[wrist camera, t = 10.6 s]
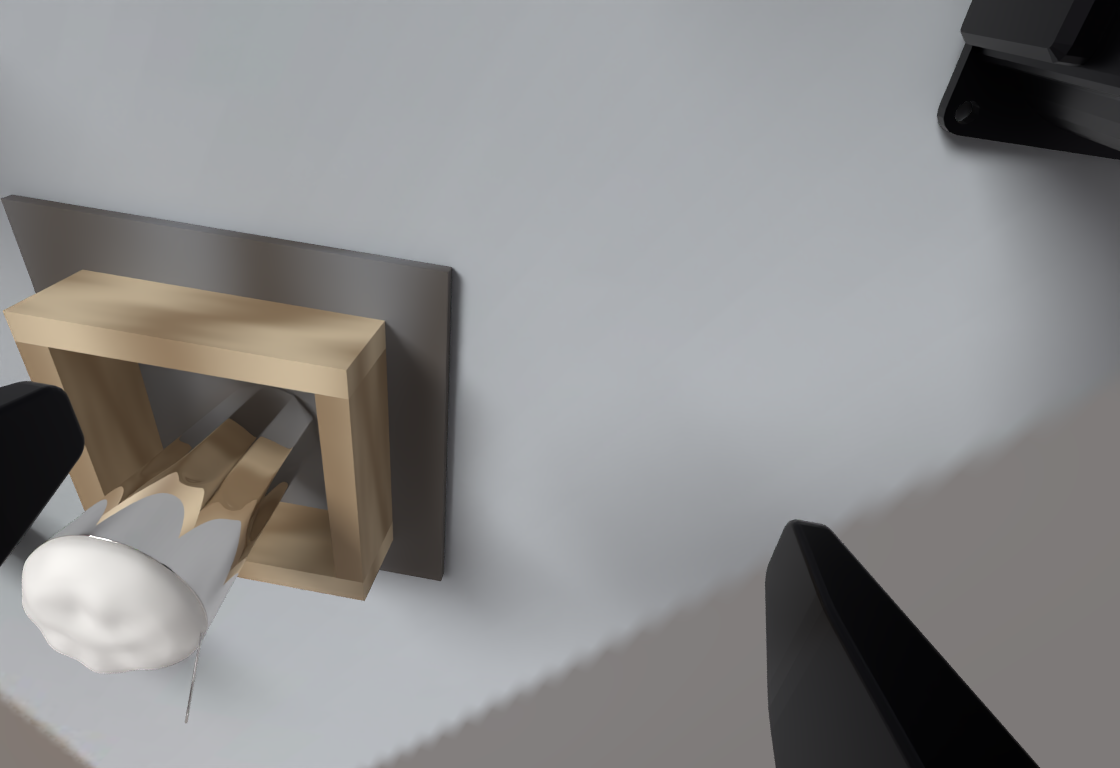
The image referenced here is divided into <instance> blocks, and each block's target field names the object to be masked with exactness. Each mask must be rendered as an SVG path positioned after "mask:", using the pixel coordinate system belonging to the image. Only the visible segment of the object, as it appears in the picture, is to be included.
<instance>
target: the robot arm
mask: <svg viewBox="0 0 1120 768" xmlns="http://www.w3.org/2000/svg"><path fill="white" fill-rule="evenodd" d="M961 34H962V36H963V39H964V41H965V46H964V48H963V51H962V53H961V55H960V58H959V60H958V63H957V65H956V67H955V70H954V72H953V74H952V77H951V79H950V82H949V84H948V86H947V89H946V91H945V93H944V96H943V98H942V101H941V103H940V105H939V109H938V113H937V117H938V122H939V124H940V125H941V126H942V128H943V129H945V130H947V131H948V132H951V133H953V134H956V135H960V136H966V137H973V138H980V139H986V140H993V141H999V142H1006V143H1013V144H1019V145H1026V146H1033V147H1039V148H1046V149H1052V150H1059V151H1066V152H1072V153H1079V154H1085V155H1092V156H1099V157H1105V158H1112V159H1119V160H1120V0H972V2H971V5H970V7H969V10H968V12H967V14H966V17H965V19H964V22H963V24H962V27H961ZM966 101H971V103H972V111H971V112H970V114H969V115H968V117H966V118H965V119H963V120H961V121H956V119H955V113H956V110H957V109H958V107H959V106H960V105H961V104H963V103H964V102H966ZM84 446H85V438H84V434H83V432H82V429H81V427H80V424H79V421H78V419H77V416H76V414H75V411H74V409H73V406H72V404H71V401H70V399H69V397H68V395H67V393H66V392H65V391H64V390H63V389H62V388H60V387H58V386H55V385H49V384H44V383H38V382H32V381H23V382H18V383H14V384H10V385H7V386H3V387H0V566H1V565H2V564H3V563H4V562H5V560H6V559H7V558H8V557H9V555H10V554H11V553H12V551H13V550H14V549H15V547H16V546H17V545H18V543H19V542H20V541H21V539H22V538H23V536H24V535H25V534H26V532H27V531H28V529H29V528H30V527H31V525H32V524H33V522H34V521H35V520H36V518H37V517H38V516H39V514H40V513H41V511H42V510H43V509H44V507H45V506H46V504H47V503H48V502H49V500H50V499H51V497H52V496H53V495H54V493H55V492H56V490H57V489H58V488H59V486H60V485H61V483H62V482H63V481H64V479H65V478H66V476H67V475H68V474H69V472H70V471H71V469H72V468H73V467H74V465H75V464H76V463H77V461H78V460H79V458H80V457H81V455H82V453H83V450H84ZM765 598H766V599H765V601H766V643H767V687H768V710H769V719H770V728H771V736H772V743H773V750H774V758H775V765H776V768H1040V767H1039V766H1038V765H1037V764H1036V763H1035V762H1034V760H1033V759H1032V758H1031V757H1030V756H1029V755H1028V753H1027V752H1026V751H1025V750H1024V749H1023V748H1022V747H1021V746H1020V744H1019V743H1018V742H1017V741H1016V740H1015V739H1014V738H1013V736H1012V735H1011V734H1010V733H1009V732H1008V731H1007V730H1006V728H1005V727H1004V726H1003V725H1002V724H1001V723H1000V722H999V720H998V719H997V718H996V717H995V716H994V715H993V714H992V712H991V711H990V710H989V709H988V708H987V707H986V706H985V704H984V703H983V702H982V701H981V700H980V699H979V698H978V697H977V695H976V694H975V693H974V692H973V691H972V690H971V689H970V688H969V686H968V685H967V684H966V683H965V682H964V681H963V679H962V678H961V677H960V676H959V675H958V674H957V673H956V671H955V670H954V669H953V668H952V667H951V666H950V665H949V663H948V662H947V661H946V660H945V659H944V658H943V657H942V656H941V654H940V653H939V652H938V651H937V650H936V649H935V648H934V646H933V645H932V644H931V643H930V642H929V641H928V640H927V638H926V637H925V636H924V635H923V634H922V633H921V632H920V631H919V629H918V628H917V627H916V626H915V625H914V624H913V623H912V621H911V620H910V619H909V618H908V617H907V616H906V615H905V613H904V612H903V611H902V610H901V609H900V608H899V607H898V605H897V604H896V603H895V602H894V601H893V600H892V599H891V598H890V596H889V595H888V594H887V593H886V592H885V591H884V590H883V588H882V587H881V586H880V585H879V584H878V583H877V582H876V580H875V579H874V578H873V577H872V576H871V575H870V574H869V572H868V571H867V570H866V569H865V568H864V567H863V566H862V564H861V563H860V562H859V561H858V560H857V559H856V558H855V556H854V555H853V554H852V553H851V552H850V551H849V550H848V549H847V547H846V546H845V545H844V544H843V543H842V542H841V540H840V539H839V538H838V537H837V536H836V535H835V534H834V533H833V531H832V530H831V529H830V528H828V527H827V526H826V525H823V524H819V523H814V522H808V521H803V520H797V519H795V520H791V521H789V522H788V523H787V525H786V526H785V528H784V530H783V532H782V534H781V537H780V539H779V541H778V544H777V546H776V548H775V550H774V553H773V555H772V557H771V559H770V562H769V564H768V567H767V571H766V579H765Z"/></svg>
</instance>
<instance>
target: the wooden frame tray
mask: <svg viewBox="0 0 1120 768" xmlns="http://www.w3.org/2000/svg"><path fill="white" fill-rule="evenodd" d="M1 200H2V203H3V206H4V208H5V211H6V214H7V217H8V219H9V222H10V225H11V227H12V230H13V233H14V235H15V238H16V241H17V243H18V246H19V249H20V252H21V254H22V257H23V260H24V262H25V265H26V268H27V270H28V273H29V276H30V278H31V281H32V284H33V287H34V289H35V292H36V294H34V295H32V296H30V297H28V298H26V299H24V300H23V301H21V302H19V303H17V304H15V305H13V306H11V307H9V308H7V309H5V310H3V313H4V315H5V318H6V320H7V323H8V325H9V327H10V330H11V332H12V335H13V337H14V340H15V342H16V345H17V347H18V349H19V352H20V354H21V357H22V359H23V362H24V364H25V366H26V369H27V371H28V374H29V376H30V379H31V381H32V382H38V383H44V384H49V385H55V386H58V387H60V388H62V389H63V390H64V391H65V392H66V393H67V395H68V397H69V399H70V401H71V404H72V406H73V409H74V411H75V414H76V416H77V419H78V421H79V424H80V427H81V429H82V432H83V434H84V438H85V446H84V450H83V453H82V455H81V457H80V458H79V460H78V461H77V463H76V464H75V465H74V467H73V468H72V469H71V471H70V472H69V474H70V476H71V479H72V481H73V483H74V486H75V488H76V491H77V493H78V496H79V498H80V501H81V503H82V505H83V508H84V510H85V511H86V510H87V509H89V508H90V507H91V506H93V505H94V504H95V503H97V502H98V501H99V500H101V499H102V498H103V497H104V496H106V495H107V494H108V493H110V492H111V491H112V490H114V489H115V488H116V487H118V486H119V485H120V484H121V483H123V482H124V481H125V480H127V479H128V478H129V477H130V476H132V475H133V474H134V473H135V472H137V471H138V470H139V469H140V468H142V467H143V466H144V465H145V464H147V463H148V462H149V461H150V460H151V459H153V458H154V457H155V456H156V455H158V454H159V453H160V452H161V451H162V450H164V449H165V448H166V447H167V446H169V445H170V444H171V443H172V442H173V441H175V440H176V439H177V438H178V437H180V436H181V435H182V434H183V433H184V432H186V431H187V430H188V429H189V428H191V427H192V426H193V425H194V424H195V423H197V422H198V421H199V420H200V419H202V418H203V417H204V416H205V415H206V414H208V413H209V412H210V411H211V410H213V409H214V408H215V407H216V406H218V405H219V404H220V403H221V402H222V401H224V400H225V399H226V398H227V397H229V396H230V395H231V394H232V393H233V392H235V391H236V390H237V389H239V388H240V387H244V386H252V385H260V384H263V385H269V386H273V387H276V388H278V389H280V390H283V391H285V392H288V393H290V394H292V395H294V396H295V397H296V398H297V399H298V400H299V401H300V402H301V403H302V405H303V406H304V407H305V408H306V409H307V410H308V411H309V412H310V413H311V415H312V416H313V418H314V425H315V432H316V441H315V443H314V445H313V447H312V448H311V450H310V452H309V453H308V455H307V457H306V459H305V460H304V462H303V464H302V465H301V467H300V469H299V470H298V472H297V474H296V475H295V477H294V479H293V481H292V482H291V484H290V486H289V487H288V489H287V491H286V492H285V494H284V496H283V497H282V499H281V501H280V502H279V504H278V506H277V508H276V509H275V511H274V513H273V514H272V516H271V518H270V519H269V521H268V523H267V524H266V526H265V528H264V530H263V531H262V533H261V535H260V536H259V538H258V540H257V541H256V543H255V545H254V547H253V549H252V550H251V552H250V554H249V556H248V558H247V560H246V561H245V563H244V565H243V567H242V569H241V571H240V572H239V574H238V576H237V577H240V578H245V579H251V580H256V581H261V582H267V583H272V584H277V585H283V586H288V587H293V588H299V589H304V590H309V591H315V592H320V593H325V594H331V595H336V596H341V597H347V598H352V599H357V600H363V601H365V599H366V597H367V595H368V593H369V590H370V588H371V586H372V584H373V582H374V580H375V578H376V575H377V573H378V571H379V570H384V571H389V572H394V573H400V574H405V575H411V576H416V577H421V578H427V579H432V580H438V581H441V580H442V577H443V574H444V541H445V504H446V467H447V429H448V392H449V355H450V318H451V280H452V267H447V266H441V265H435V264H429V263H423V262H417V261H411V260H405V259H399V258H393V257H387V256H380V255H374V254H368V253H362V252H356V251H350V250H344V249H338V248H332V247H326V246H320V245H314V244H308V243H302V242H295V241H289V240H283V239H277V238H271V237H265V236H259V235H253V234H247V233H241V232H235V231H229V230H223V229H217V228H210V227H204V226H198V225H192V224H186V223H180V222H174V221H168V220H162V219H156V218H150V217H144V216H138V215H132V214H125V213H119V212H113V211H107V210H101V209H95V208H89V207H83V206H77V205H71V204H65V203H59V202H53V201H47V200H40V199H34V198H28V197H22V196H16V195H10V196H7V197H4V198H1Z"/></svg>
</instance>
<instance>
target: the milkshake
mask: <svg viewBox="0 0 1120 768" xmlns="http://www.w3.org/2000/svg"><path fill="white" fill-rule="evenodd" d="M315 441H316V432H315V425H314V418H313V416H312V415H311V413H310V412H309V411H308V410H307V409H306V408H305V407H304V406H303V405H302V403H301V402H300V401H299V400H298V399H297V398H296V397H295V396H294V395H292V394H290V393H288V392H285V391H283V390H280V389H278V388H276V387H273V386H269V385H263V384H260V385H252V386H244V387H240V388H239V389H237V390H236V391H235V392H233V393H232V394H231V395H230V396H229V397H227V398H226V399H225V400H224V401H222V402H221V403H220V404H219V405H218V406H216V407H215V408H214V409H213V410H211V411H210V412H209V413H208V414H206V415H205V416H204V417H203V418H202V419H200V420H199V421H198V422H197V423H195V424H194V425H193V426H192V427H191V428H189V429H188V430H187V431H186V432H184V433H183V434H182V435H181V436H180V437H178V438H177V439H176V440H175V441H173V442H172V443H171V444H170V445H169V446H167V447H166V448H165V449H164V450H162V451H161V452H160V453H159V454H158V455H156V456H155V457H154V458H153V459H151V460H150V461H149V462H148V463H147V464H145V465H144V466H143V467H142V468H140V469H139V470H138V471H137V472H135V473H134V474H133V475H132V476H130V477H129V478H128V479H127V480H125V481H124V482H123V483H121V484H120V485H119V486H118V487H116V488H115V489H114V490H112V491H111V492H110V493H108V494H107V495H106V496H104V497H103V498H102V499H101V500H99V501H98V502H97V503H95V504H94V505H93V506H91V507H90V508H89V509H87V510H86V511H85V512H84V513H82V514H81V515H80V516H78V517H77V518H76V519H74V520H73V521H72V522H70V523H69V524H68V525H67V526H65V527H64V528H63V529H61V530H60V531H59V532H57V533H56V534H55V535H54V536H52V537H51V538H50V539H48V540H47V541H46V542H45V543H43V544H42V545H41V546H39V547H38V548H37V549H36V550H35V551H34V552H33V553H32V554H31V555H30V556H29V557H28V558H27V560H26V562H25V564H24V567H23V572H22V605H23V609H24V611H25V613H26V614H27V616H28V617H29V618H30V620H31V621H32V622H33V623H34V624H35V625H36V626H37V627H38V628H39V629H40V630H41V632H42V634H43V635H44V637H45V639H46V641H47V642H48V644H49V645H50V646H51V647H52V648H53V649H54V650H55V651H57V652H58V653H60V654H63V655H66V656H69V657H71V658H74V659H76V660H77V661H79V662H80V663H82V664H83V665H84V666H86V667H87V668H88V669H90V670H91V671H93V672H97V673H101V674H112V673H123V672H128V671H133V670H155V669H160V668H164V667H168V666H171V665H173V664H176V663H178V662H180V661H182V660H184V659H185V658H187V657H188V656H190V655H191V654H192V653H193V652H194V651H195V650H196V649H197V648H198V650H197V655H196V661H195V667H194V673H193V678H192V684H191V690H190V696H189V701H188V707H187V713H186V719H185V723H187V722H188V716H189V711H190V705H191V699H192V693H193V688H194V682H195V676H196V670H197V664H198V659H199V653H200V647H201V642H202V640H203V638H204V636H205V634H206V633H207V631H208V629H209V627H210V625H211V624H212V622H213V620H214V618H215V616H216V615H217V613H218V611H219V609H220V607H221V605H222V604H223V602H224V600H225V598H226V596H227V594H228V593H229V591H230V589H231V587H232V585H233V583H234V582H235V580H236V578H237V576H238V574H239V572H240V571H241V569H242V567H243V565H244V563H245V561H246V560H247V558H248V556H249V554H250V552H251V550H252V549H253V547H254V545H255V543H256V541H257V540H258V538H259V536H260V535H261V533H262V531H263V530H264V528H265V526H266V524H267V523H268V521H269V519H270V518H271V516H272V514H273V513H274V511H275V509H276V508H277V506H278V504H279V502H280V501H281V499H282V497H283V496H284V494H285V492H286V491H287V489H288V487H289V486H290V484H291V482H292V481H293V479H294V477H295V475H296V474H297V472H298V470H299V469H300V467H301V465H302V464H303V462H304V460H305V459H306V457H307V455H308V453H309V452H310V450H311V448H312V447H313V445H314V443H315Z"/></svg>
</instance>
